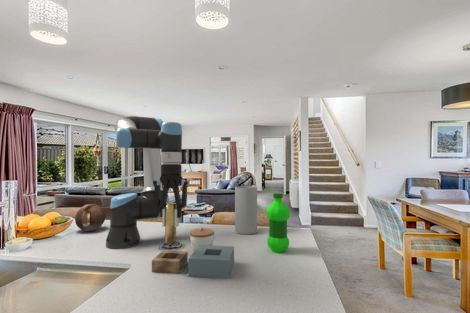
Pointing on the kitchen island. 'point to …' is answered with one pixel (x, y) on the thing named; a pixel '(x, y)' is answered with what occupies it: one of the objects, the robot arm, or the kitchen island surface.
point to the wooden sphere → (90, 217)
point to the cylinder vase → (246, 209)
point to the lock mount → (170, 261)
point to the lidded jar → (201, 237)
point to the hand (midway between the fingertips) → (170, 226)
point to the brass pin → (170, 223)
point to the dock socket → (211, 261)
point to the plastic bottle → (278, 224)
